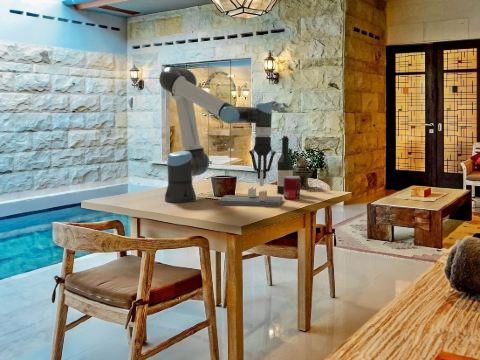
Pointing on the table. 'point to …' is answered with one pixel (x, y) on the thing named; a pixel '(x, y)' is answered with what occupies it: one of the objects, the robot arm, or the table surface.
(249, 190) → the fader
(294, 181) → the canned food
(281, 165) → the wine bottle
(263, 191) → the fader
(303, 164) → the potted plant
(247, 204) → the console
